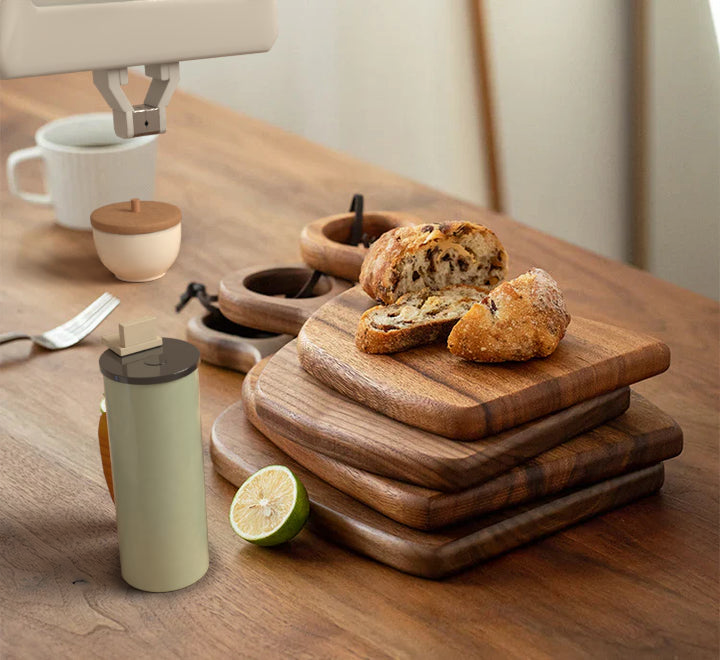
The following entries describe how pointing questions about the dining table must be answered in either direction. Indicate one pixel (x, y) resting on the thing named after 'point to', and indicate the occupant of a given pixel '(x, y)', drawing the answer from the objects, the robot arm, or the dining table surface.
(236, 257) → the dining table surface
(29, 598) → the dining table surface
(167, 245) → the lidded bowl
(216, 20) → the robot arm
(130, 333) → the cup slider
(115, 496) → the travel cup
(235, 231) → the dining table surface
